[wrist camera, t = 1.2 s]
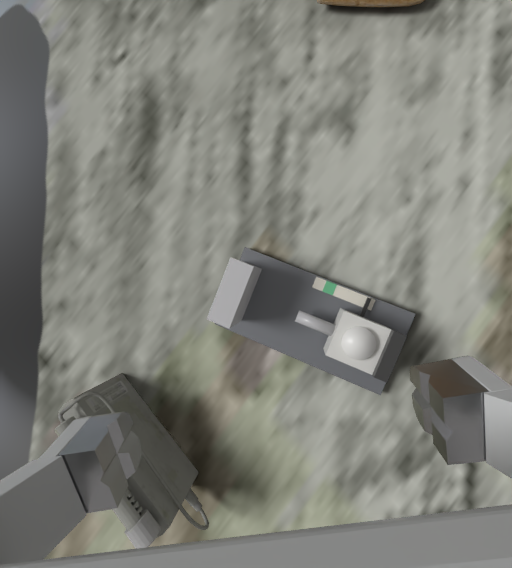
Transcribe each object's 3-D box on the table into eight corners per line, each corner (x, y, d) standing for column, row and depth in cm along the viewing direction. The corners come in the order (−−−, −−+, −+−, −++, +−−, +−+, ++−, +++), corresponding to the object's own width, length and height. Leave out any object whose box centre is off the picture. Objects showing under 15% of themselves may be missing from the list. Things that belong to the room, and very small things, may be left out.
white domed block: (402, 311, 42) (416, 315, 37) (376, 370, 42) (387, 382, 37) (312, 275, 44) (314, 275, 38) (289, 333, 44) (287, 340, 39)
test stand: (411, 312, 44) (441, 321, 34) (377, 391, 45) (398, 420, 35) (246, 248, 47) (232, 240, 38) (217, 322, 48) (197, 332, 38)
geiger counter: (28, 427, 37) (160, 609, 35) (65, 394, 36) (203, 578, 34) (103, 387, 51) (201, 515, 49) (131, 362, 50) (232, 492, 48)
